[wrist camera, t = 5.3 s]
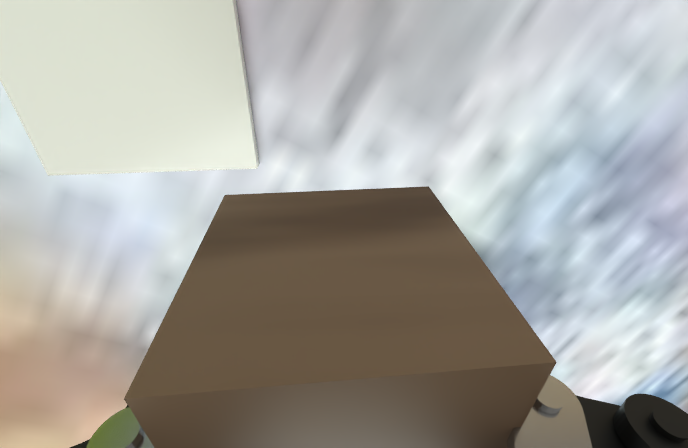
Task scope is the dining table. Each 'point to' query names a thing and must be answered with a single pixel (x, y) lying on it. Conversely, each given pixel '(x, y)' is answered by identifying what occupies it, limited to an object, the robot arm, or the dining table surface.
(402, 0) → the dining table surface
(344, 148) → the dining table surface
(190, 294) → the walnut cube
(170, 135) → the plate
